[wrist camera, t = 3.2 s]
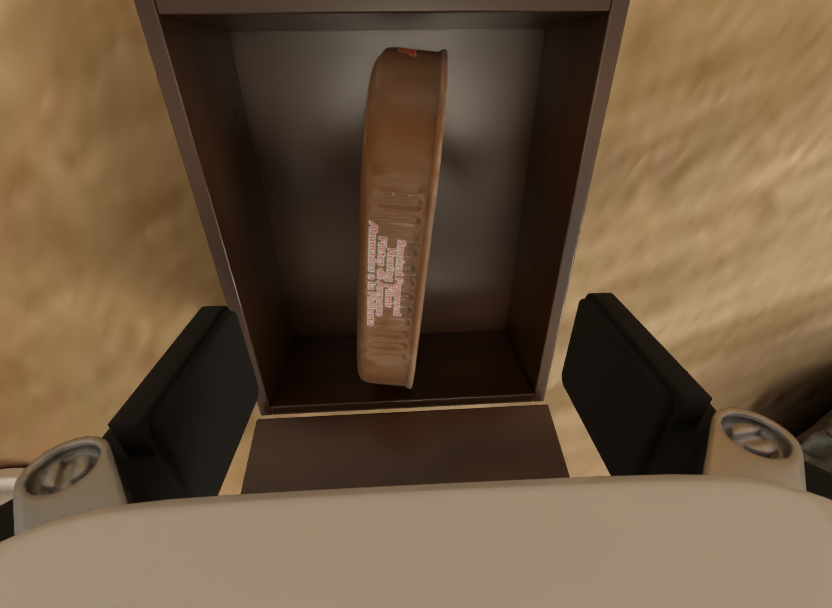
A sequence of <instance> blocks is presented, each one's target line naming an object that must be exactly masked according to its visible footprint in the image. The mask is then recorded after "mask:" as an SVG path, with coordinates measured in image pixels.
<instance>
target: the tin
mask: <svg viewBox="0 0 832 608" xmlns="http://www.w3.org/2000/svg"><path fill="white" fill-rule="evenodd" d="M447 83H448V51H447V50H446V49H442V50H440V51H439V52H437V51H426V50H416V49H409V48H401V47H388V48H386V49H385V50H384V51H383V52H382V53H381V55H380V56H379V57H378V58H377V60H376V61H375V63H374V66H373V68H372V72H371V76H370V80H369V87H368V94H367V101H366V109H365V117H364V129H363V142H362V158H361V177H360V207H359V246H358V284H357V366H358V374H359V376H360V378H361V379H362V380H363V381H365V382H369V383H375V384H386V385H398V386H405V387H407V388H409V389H411V388H412V384H413V380H414V374H415V368H416V367H415V365H416V359H417V351H418V343H419V335H420V326H421V319H422V311H423V302H424V294H425V285H426V278H427V269H428V261H429V253H430V246H431V237H432V228H433V221H434V214H435V206H436V198H437V190H438V182H439V174H440V163H441V154H442V142H443V135H444V120H445V110H446V97H447Z"/></svg>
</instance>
